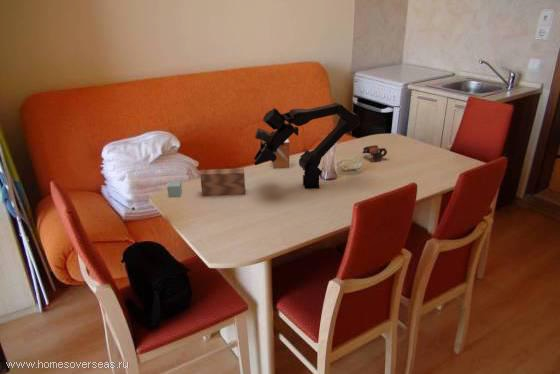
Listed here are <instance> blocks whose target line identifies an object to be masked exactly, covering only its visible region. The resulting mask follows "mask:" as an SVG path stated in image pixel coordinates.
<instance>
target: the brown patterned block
mask: <svg viewBox="0 0 560 374" xmlns="http://www.w3.org/2000/svg"><path fill="white" fill-rule="evenodd" d="M199 176H200V178H199V179H200V187H201V188H200V189H201V197H211V196H213V197H214V196H217V197H218V196H235V195H237V196H238V195H239V196H240V195H246V179H245V168H243V167H242V168H241V167H239V168H216V169H215V168H214V169H200V174H199Z"/></svg>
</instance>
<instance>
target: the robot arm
mask: <svg viewBox="0 0 560 374" xmlns="http://www.w3.org/2000/svg"><path fill="white" fill-rule="evenodd" d="M335 115H337V117H339V118H338V120H337V121H338V122H337V123H336V126H335V127H334V128H333V129H332V130H331V131H330V132H329V133H328V134H327V135H326V137H324V139H322V141H321V142H320V143H319V144H317V146H316V147H315V148H314V149H312V150H308V149H306V150H305V151H304V152H303V153H302V154H301V155H299V156H300V158H299V160H298V165H299V167H300V168H301V169H302V171H303V175H302V185H303V187H304V189H306V190H309V189H310V190H311V189H320V188H321V187H320V177H321V175H322V173H323V171H322V170H321V169H320V168H319V166H320V164H321V161H322V158H323V157H324V156H325V155H326V154H327V153H328V152H329V150H331V149H332V148H333V147H334V145H335V144H337V142H339V140H340V139H341V138H343V137H344V136H345V134H347V133H350V132H352V131H353V130H355V129H356V128H357V127H359V126H360V124H361V117H360V115H359V114H357V113H355V112H352V111H350V110H349V109H348V108H346V107H345V106H344V105H343V104H341V103H339V102H333V103H331V104H327V105H322V106H321V105H320V106H317V107H313V108H292V109H290V110H289V112H284V113H282V114H281V112H280V111H279V110H278V109H277V108H276V107H274V108H272V109H271V110H269V111H268V112H266V113H265V115H264V116H263V118H262V121H263V122H264V123H265V124H266V125H268V127H270V128H271V129H272V130H273V131H271V132H269V131H267V130H265V129H262V128H259V127H258V128H257V130H256V132H255V134H254V137H255V139H257V140H260V145H259V146H260V147H259V148H258V151H257V152H256V154H255V156H254V157H253V160H254V162H253V165H255V166H258V165H261V164H264V163H266V162H270V161H271V163H272V162H274V161H275V160H276V159H277V157H276V153H275V152H277V149H278V148H279V147H280V146H281V145H284V144H285V143H284V142H285V141H286V140H287V139H288V140H289V138H290V137H291V136H292V135H293V134H294V135H295V136H299V128H298V127H301V126H303V125H306V124H308V123H309V122H311V121H313V120H317V119H322V118H325V117H330V116H335ZM273 150H274V151H275V152H274V151H273Z"/></svg>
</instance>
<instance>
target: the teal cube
mask: <svg viewBox="0 0 560 374" xmlns="http://www.w3.org/2000/svg"><path fill="white" fill-rule="evenodd" d="M166 189H167V195H168V196H167V197H168V198H181V197H182V194H183V187H182V181H169V182H168V184H167V186H166Z"/></svg>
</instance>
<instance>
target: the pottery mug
mask: <svg viewBox="0 0 560 374" xmlns="http://www.w3.org/2000/svg"><path fill="white" fill-rule="evenodd" d="M382 152H383V153H382ZM387 153H388V150H387V149H386V148H385V147H381V148H380V147H379V145H377V144H375V145H374V144H373V145H370V146H369V145H368V146H366V147H363V151H362V155H363V154H370V155H371V157H368V161H369V163H373V162H375V163H376V162H380V161H381V159H383V157H385V156H386V155H387Z"/></svg>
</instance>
